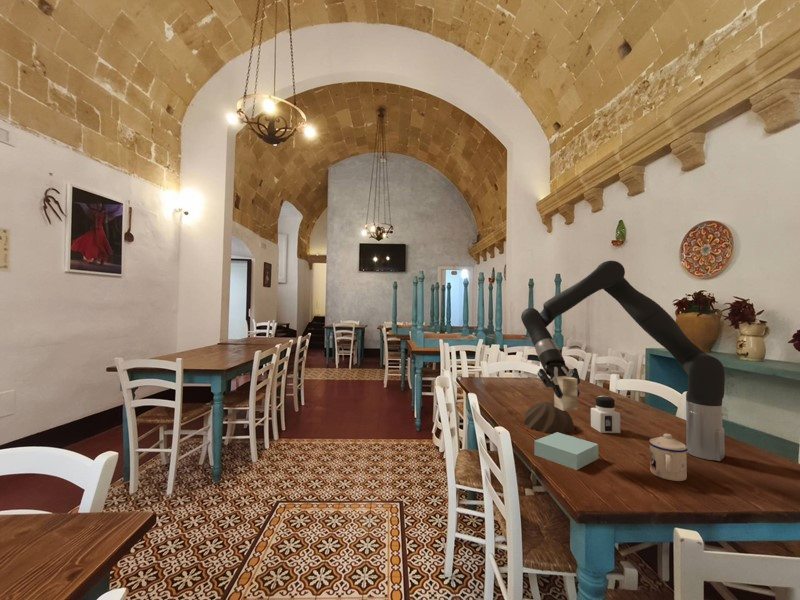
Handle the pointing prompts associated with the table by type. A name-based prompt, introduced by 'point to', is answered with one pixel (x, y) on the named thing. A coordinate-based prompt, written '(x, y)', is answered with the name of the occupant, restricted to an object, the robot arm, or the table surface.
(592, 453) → the teal block
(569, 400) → the birch block
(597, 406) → the container
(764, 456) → the table surface
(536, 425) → the decorative dome
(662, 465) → the teacup with lid
